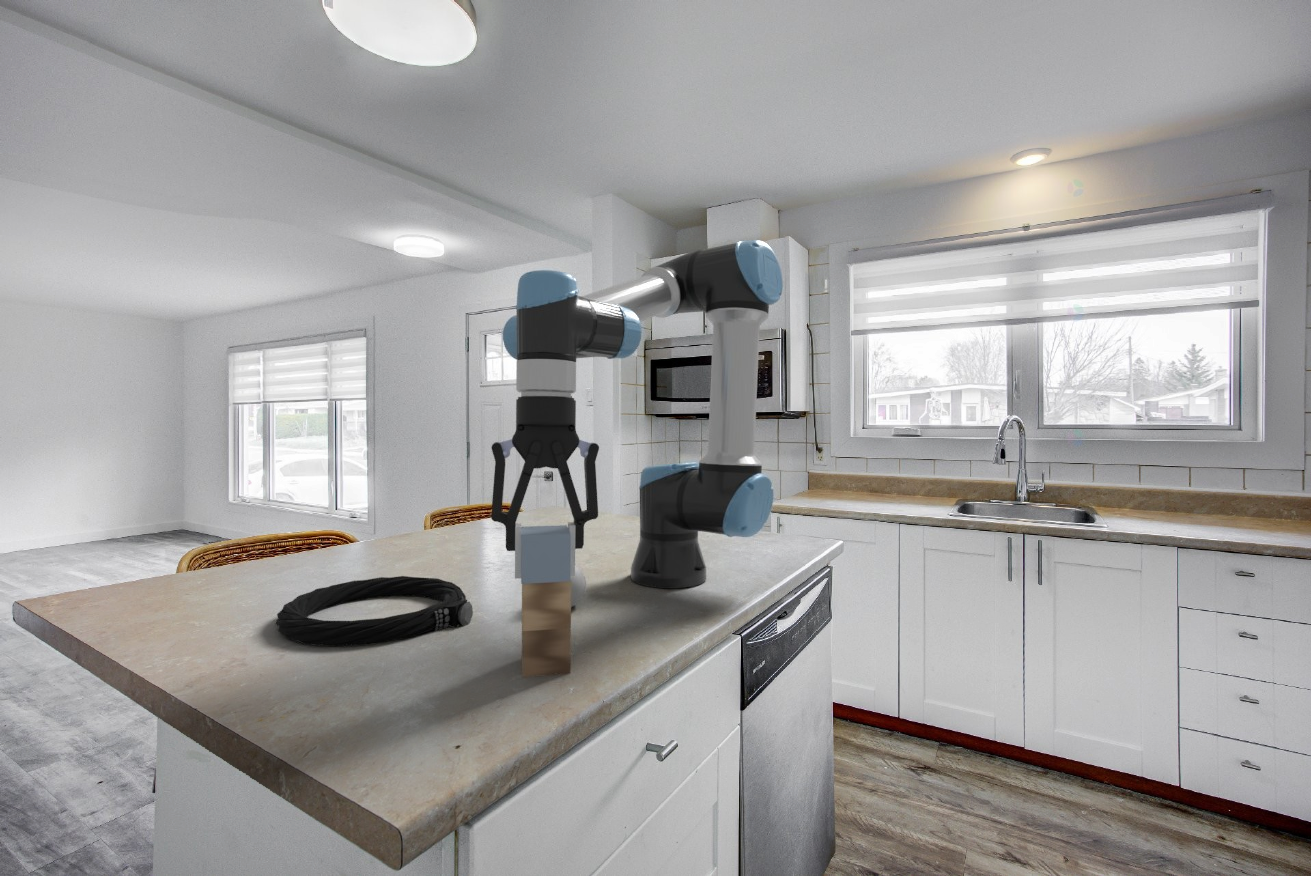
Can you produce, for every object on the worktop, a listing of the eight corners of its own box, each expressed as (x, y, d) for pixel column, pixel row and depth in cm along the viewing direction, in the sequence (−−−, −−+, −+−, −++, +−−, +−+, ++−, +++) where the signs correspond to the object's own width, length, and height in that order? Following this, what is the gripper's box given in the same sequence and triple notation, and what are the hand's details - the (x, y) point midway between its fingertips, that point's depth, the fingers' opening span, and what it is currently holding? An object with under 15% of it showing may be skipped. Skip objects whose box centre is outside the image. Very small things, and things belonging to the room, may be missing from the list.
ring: (358, 569, 114) (507, 579, 108) (359, 589, 114) (507, 600, 108) (228, 617, 87) (416, 633, 81) (228, 643, 87) (417, 661, 81)
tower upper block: (567, 612, 83) (567, 569, 82) (570, 627, 77) (571, 580, 76) (521, 615, 81) (521, 571, 81) (522, 631, 75) (522, 583, 75)
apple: (594, 605, 104) (595, 559, 104) (564, 617, 98) (564, 568, 98) (561, 597, 109) (562, 553, 108) (530, 608, 102) (530, 561, 102)
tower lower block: (566, 656, 83) (567, 612, 83) (570, 674, 77) (570, 627, 77) (521, 659, 81) (521, 615, 81) (522, 678, 76) (522, 631, 75)
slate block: (566, 569, 82) (566, 525, 82) (570, 581, 76) (570, 533, 76) (520, 571, 81) (521, 526, 81) (521, 583, 75) (521, 535, 75)
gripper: (615, 398, 84) (613, 564, 84) (471, 394, 79) (470, 570, 80) (624, 396, 76) (622, 578, 77) (466, 392, 72) (465, 585, 73)
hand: (544, 574), depth 79 cm, fingers open, 6 cm apart
